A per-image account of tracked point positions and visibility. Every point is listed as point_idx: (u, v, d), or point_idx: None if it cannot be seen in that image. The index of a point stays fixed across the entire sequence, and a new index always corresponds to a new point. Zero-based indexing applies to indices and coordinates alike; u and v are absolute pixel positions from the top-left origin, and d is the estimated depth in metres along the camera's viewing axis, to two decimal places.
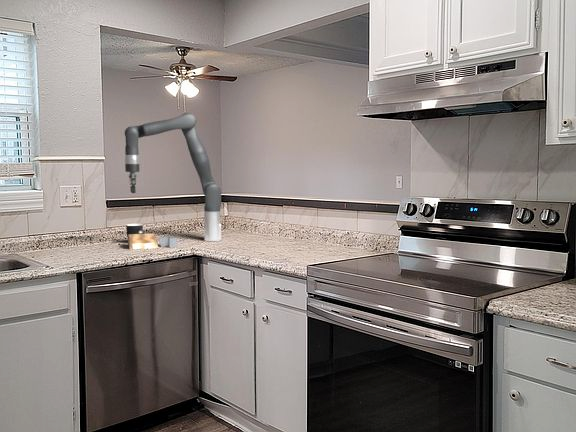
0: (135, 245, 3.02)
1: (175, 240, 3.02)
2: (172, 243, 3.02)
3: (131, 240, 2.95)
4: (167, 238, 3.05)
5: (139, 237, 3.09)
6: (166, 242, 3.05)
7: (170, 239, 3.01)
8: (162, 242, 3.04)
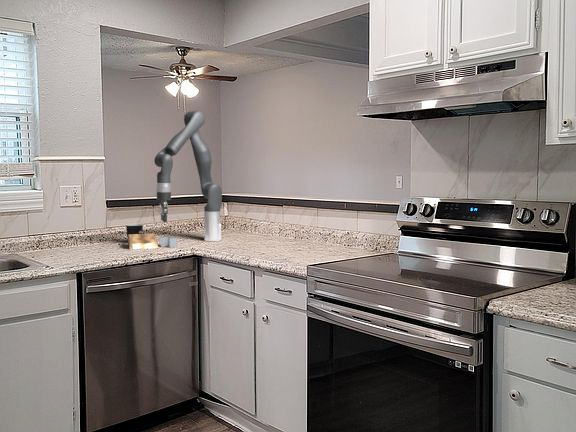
0: (135, 245, 3.02)
1: (175, 240, 3.02)
2: (172, 243, 3.02)
3: (131, 240, 2.95)
4: (167, 238, 3.05)
5: (139, 237, 3.09)
6: (166, 242, 3.05)
7: (170, 239, 3.01)
8: (162, 242, 3.04)
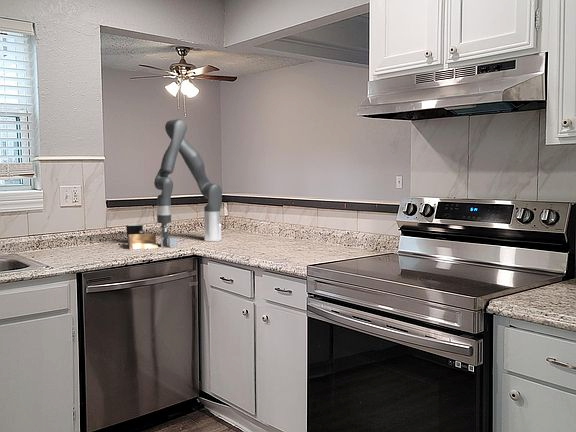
0: (135, 245, 3.02)
1: (175, 240, 3.02)
2: (172, 243, 3.02)
3: (131, 240, 2.95)
4: (167, 238, 3.05)
5: (139, 237, 3.09)
6: None
7: (170, 239, 3.01)
8: (162, 242, 3.04)
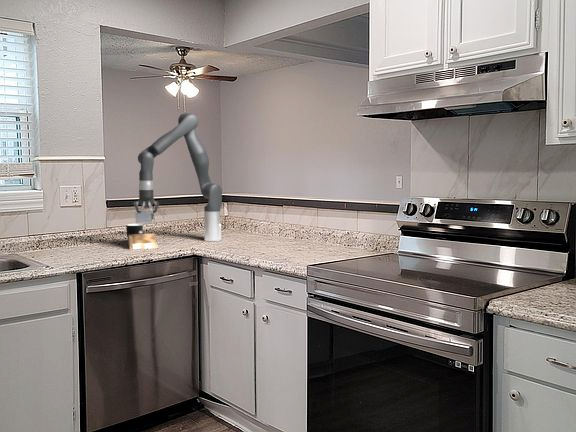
0: (135, 245, 3.02)
1: (135, 215, 2.98)
2: (135, 218, 3.00)
3: (131, 240, 2.95)
4: None
5: (139, 237, 3.09)
6: None
7: (135, 214, 3.01)
8: None
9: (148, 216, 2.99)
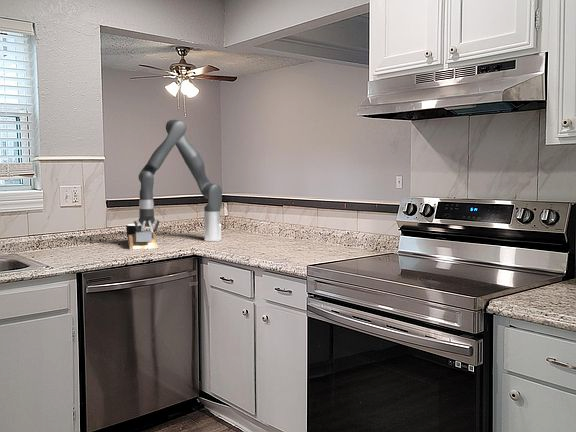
0: (135, 245, 3.02)
1: (136, 234, 2.99)
2: None
3: (131, 240, 2.95)
4: None
5: None
6: None
7: None
8: None
9: (148, 235, 3.00)
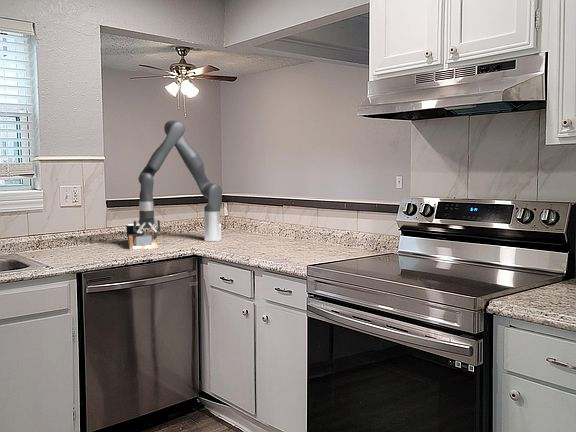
0: (135, 245, 3.02)
1: (136, 239, 3.00)
2: None
3: (131, 240, 2.95)
4: None
5: None
6: None
7: None
8: None
9: (148, 239, 3.01)
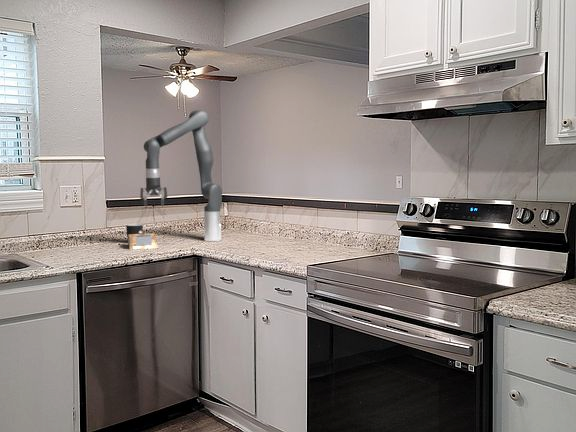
0: (135, 245, 3.02)
1: (136, 239, 3.00)
2: None
3: (131, 240, 2.95)
4: None
5: None
6: None
7: None
8: None
9: (148, 239, 3.01)
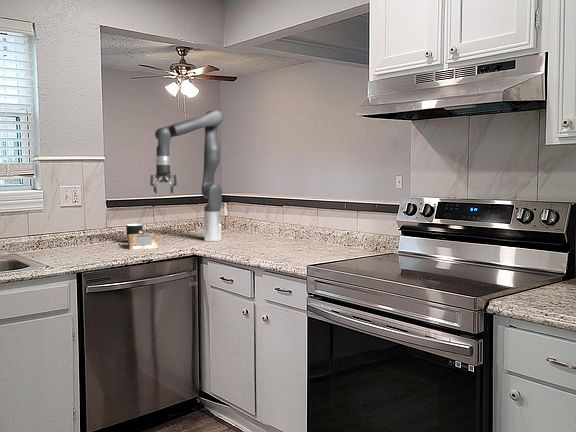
0: (135, 245, 3.02)
1: (136, 239, 3.00)
2: None
3: (131, 240, 2.95)
4: None
5: None
6: None
7: None
8: None
9: (148, 239, 3.01)
